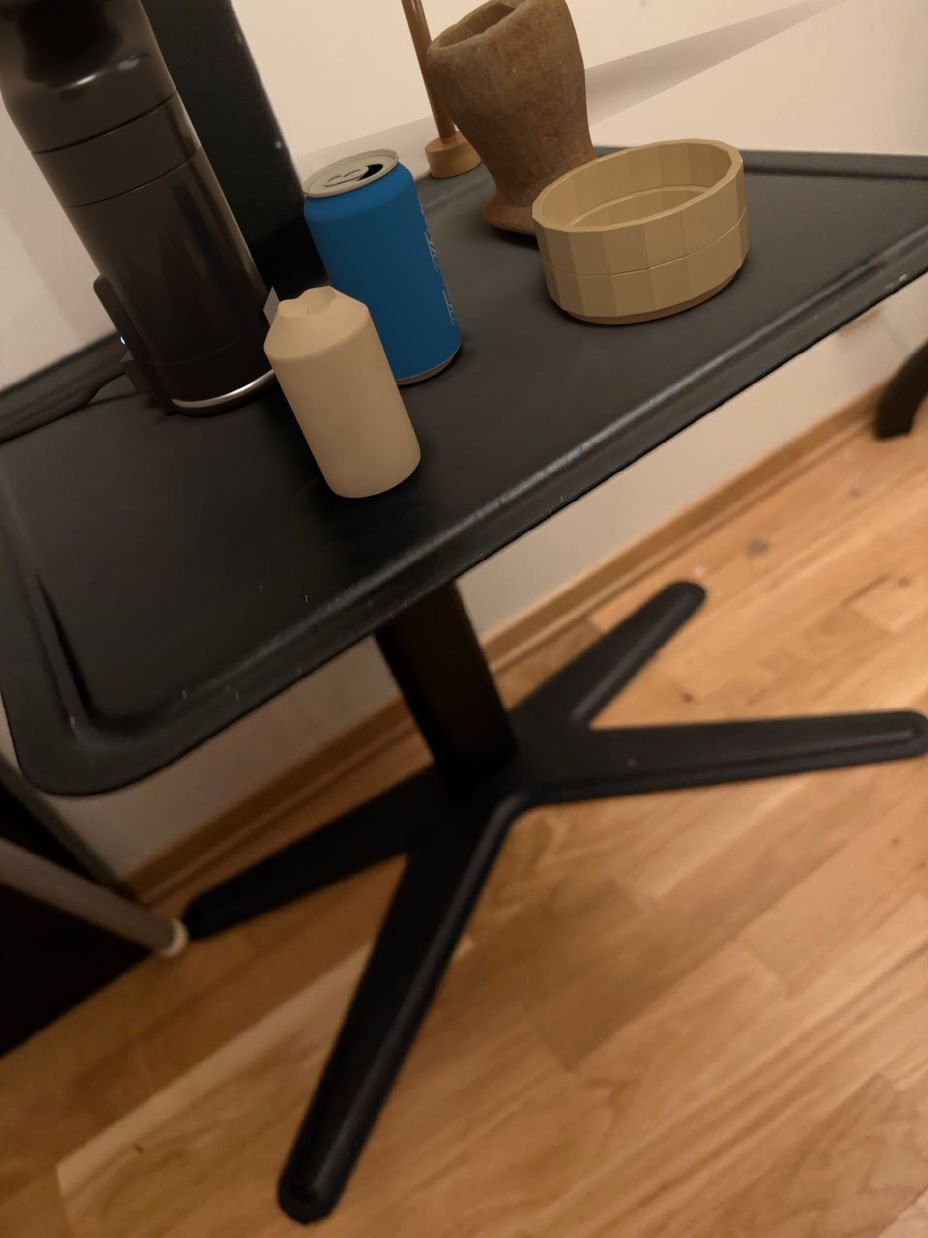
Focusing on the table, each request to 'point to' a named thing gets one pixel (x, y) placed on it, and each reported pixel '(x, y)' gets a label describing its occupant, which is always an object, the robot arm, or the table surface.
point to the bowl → (644, 230)
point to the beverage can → (384, 258)
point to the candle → (342, 392)
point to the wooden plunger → (438, 107)
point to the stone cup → (516, 98)
